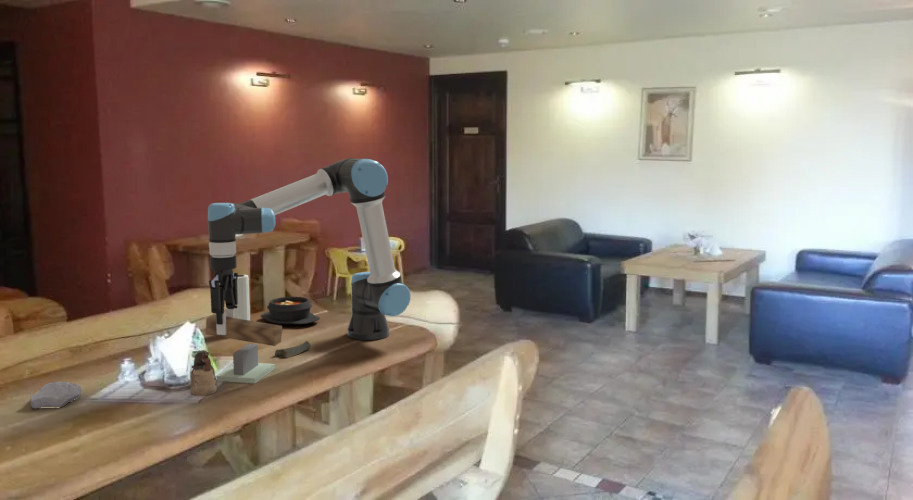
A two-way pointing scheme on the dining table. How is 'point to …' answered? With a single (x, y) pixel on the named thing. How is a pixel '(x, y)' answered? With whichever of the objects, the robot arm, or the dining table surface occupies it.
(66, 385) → the stone block
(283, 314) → the casserole
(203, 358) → the figurine
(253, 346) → the stand
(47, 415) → the dining table surface
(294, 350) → the dark grey oblong piece
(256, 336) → the beam
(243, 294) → the paper towel roll
